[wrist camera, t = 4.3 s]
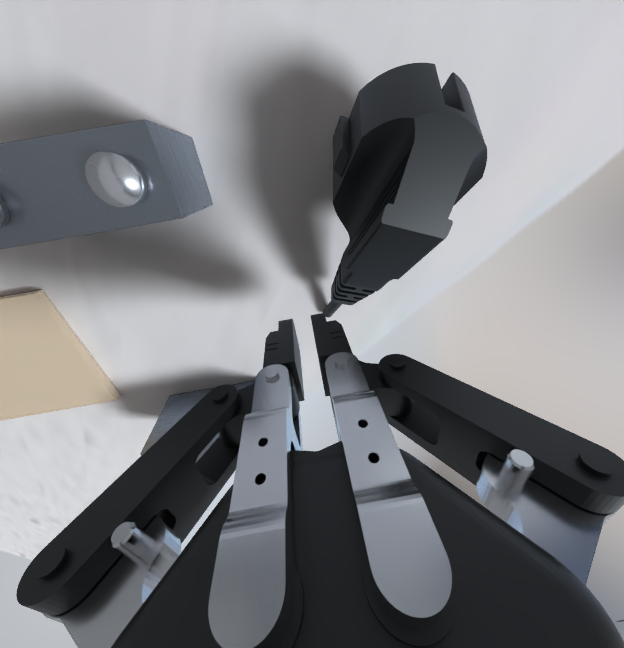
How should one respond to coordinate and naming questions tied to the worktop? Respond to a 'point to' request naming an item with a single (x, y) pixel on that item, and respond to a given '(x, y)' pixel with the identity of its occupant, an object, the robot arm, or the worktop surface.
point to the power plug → (400, 174)
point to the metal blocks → (102, 197)
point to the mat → (44, 361)
